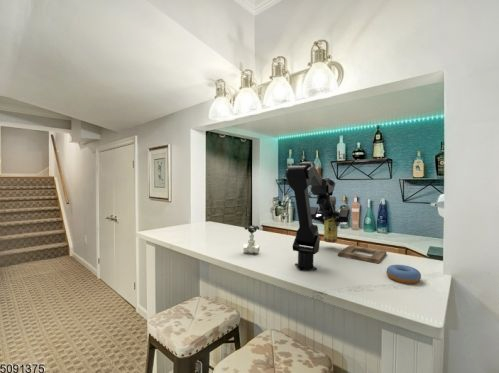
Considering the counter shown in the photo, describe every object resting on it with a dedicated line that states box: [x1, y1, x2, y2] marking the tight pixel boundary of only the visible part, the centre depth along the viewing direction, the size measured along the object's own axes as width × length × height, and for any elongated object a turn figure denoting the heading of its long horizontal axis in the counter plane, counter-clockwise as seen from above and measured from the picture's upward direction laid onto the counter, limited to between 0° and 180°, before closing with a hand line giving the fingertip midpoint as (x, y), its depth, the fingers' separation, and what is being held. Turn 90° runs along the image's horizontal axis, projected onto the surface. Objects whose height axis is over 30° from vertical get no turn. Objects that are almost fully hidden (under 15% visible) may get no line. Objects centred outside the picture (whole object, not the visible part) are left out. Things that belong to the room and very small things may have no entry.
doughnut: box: [385, 264, 422, 285], centre depth 86 cm, size 10×10×5 cm
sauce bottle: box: [323, 209, 339, 244], centre depth 123 cm, size 7×6×20 cm
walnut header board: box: [337, 244, 387, 264], centre depth 113 cm, size 16×16×2 cm
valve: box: [243, 224, 260, 255], centre depth 113 cm, size 7×7×12 cm
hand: (331, 225), depth 124 cm, fingers closed on sauce bottle, 6 cm apart
